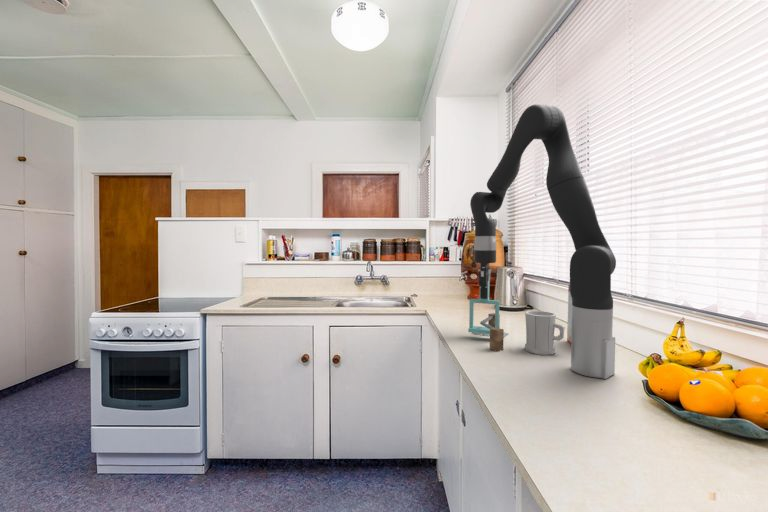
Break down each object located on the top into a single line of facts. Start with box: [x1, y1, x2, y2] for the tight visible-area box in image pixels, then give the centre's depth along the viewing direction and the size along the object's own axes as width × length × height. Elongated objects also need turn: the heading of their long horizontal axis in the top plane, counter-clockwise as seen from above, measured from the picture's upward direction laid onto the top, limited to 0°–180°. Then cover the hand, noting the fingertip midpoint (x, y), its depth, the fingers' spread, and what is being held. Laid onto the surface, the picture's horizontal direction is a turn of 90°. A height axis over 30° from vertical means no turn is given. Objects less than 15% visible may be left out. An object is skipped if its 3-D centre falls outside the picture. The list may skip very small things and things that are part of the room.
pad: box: [471, 332, 509, 339], centre depth 132 cm, size 7×12×1 cm, turn 57°
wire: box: [479, 315, 494, 329], centre depth 125 cm, size 6×26×1 cm, turn 164°
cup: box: [524, 310, 566, 356], centre depth 111 cm, size 10×9×12 cm
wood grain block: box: [487, 312, 505, 352], centre depth 125 cm, size 4×30×7 cm, turn 164°
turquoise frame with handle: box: [468, 281, 500, 334], centre depth 124 cm, size 5×10×18 cm, turn 67°
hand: (484, 297), depth 124 cm, fingers closed on turquoise frame with handle, 3 cm apart
